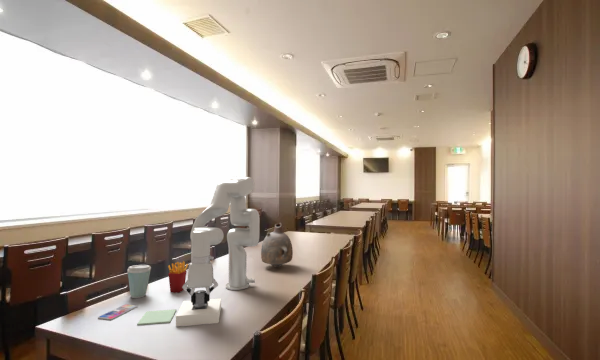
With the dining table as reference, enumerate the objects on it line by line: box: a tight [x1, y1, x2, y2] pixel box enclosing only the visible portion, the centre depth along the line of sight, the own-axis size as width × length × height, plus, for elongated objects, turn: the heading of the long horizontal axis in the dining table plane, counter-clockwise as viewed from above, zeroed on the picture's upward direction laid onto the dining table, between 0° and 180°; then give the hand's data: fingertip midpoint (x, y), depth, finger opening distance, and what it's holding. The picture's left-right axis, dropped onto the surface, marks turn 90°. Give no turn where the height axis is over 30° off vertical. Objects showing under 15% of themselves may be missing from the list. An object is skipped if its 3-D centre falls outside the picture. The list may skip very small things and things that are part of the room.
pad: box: [136, 309, 177, 326], centre depth 124 cm, size 12×12×1 cm
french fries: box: [167, 260, 189, 294], centre depth 158 cm, size 9×8×15 cm
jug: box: [260, 222, 294, 268], centre depth 204 cm, size 24×21×30 cm
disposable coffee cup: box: [126, 264, 152, 299], centre depth 150 cm, size 11×11×15 cm
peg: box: [194, 289, 206, 310], centre depth 126 cm, size 5×5×10 cm
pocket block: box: [175, 297, 222, 327], centre depth 126 cm, size 16×16×4 cm
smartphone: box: [97, 303, 138, 321], centre depth 129 cm, size 7×1×15 cm
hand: (200, 303), depth 126 cm, fingers closed on peg, 4 cm apart
